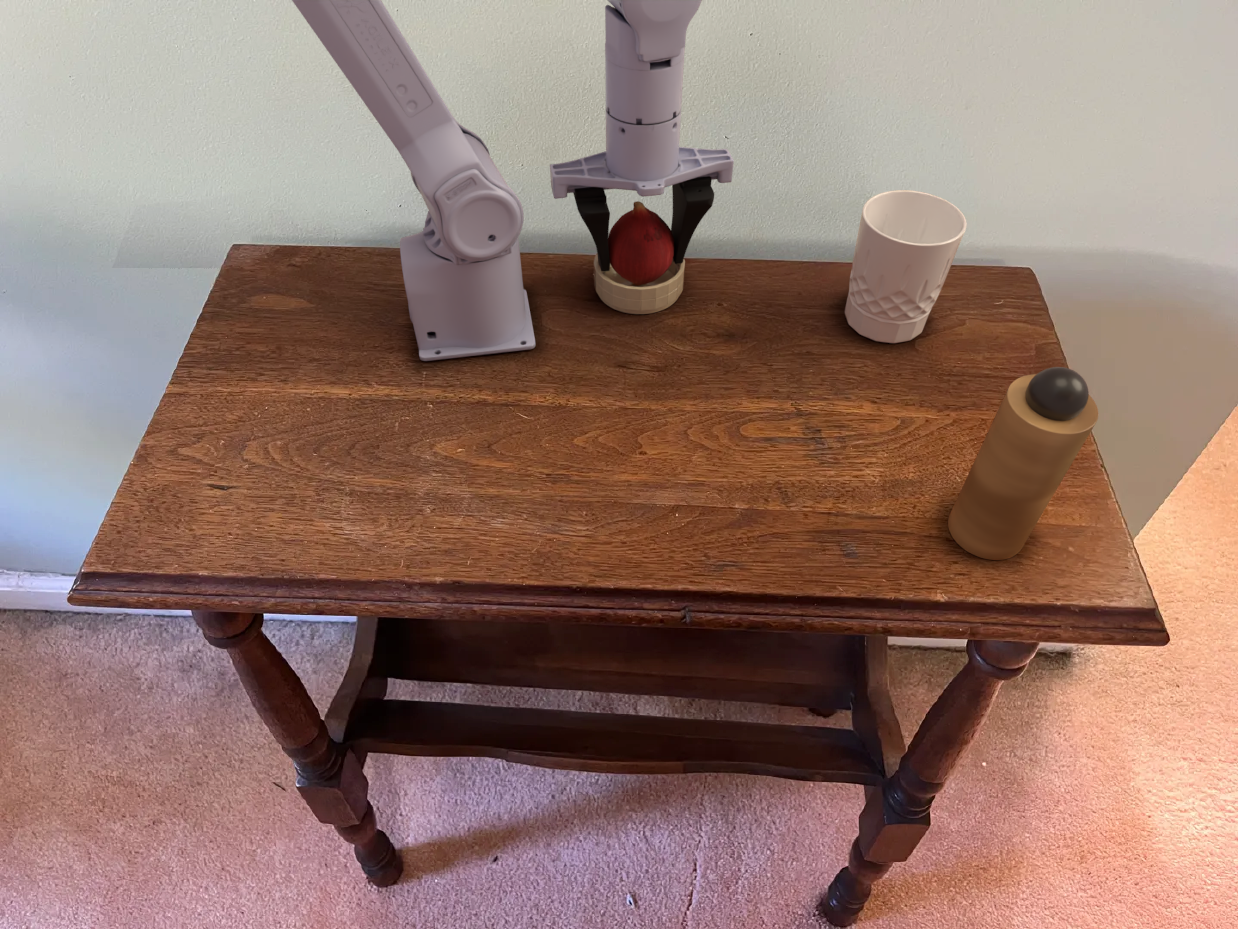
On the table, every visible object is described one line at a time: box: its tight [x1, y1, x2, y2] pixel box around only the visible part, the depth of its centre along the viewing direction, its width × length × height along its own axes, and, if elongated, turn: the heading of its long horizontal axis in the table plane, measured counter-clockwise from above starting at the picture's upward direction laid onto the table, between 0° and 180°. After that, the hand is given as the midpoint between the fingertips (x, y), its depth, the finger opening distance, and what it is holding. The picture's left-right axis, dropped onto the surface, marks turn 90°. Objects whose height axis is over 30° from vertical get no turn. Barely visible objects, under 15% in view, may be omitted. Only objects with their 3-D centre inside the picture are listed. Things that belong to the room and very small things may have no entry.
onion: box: [608, 200, 674, 285], centre depth 73 cm, size 6×6×8 cm
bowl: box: [593, 253, 686, 315], centre depth 75 cm, size 8×8×3 cm
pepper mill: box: [947, 366, 1099, 561], centre depth 53 cm, size 5×5×14 cm
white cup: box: [844, 189, 968, 344], centre depth 70 cm, size 8×8×10 cm
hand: (639, 260), depth 74 cm, fingers closed on onion, 6 cm apart
